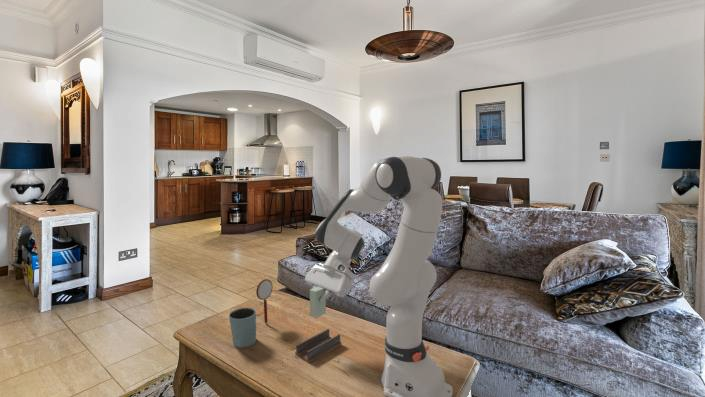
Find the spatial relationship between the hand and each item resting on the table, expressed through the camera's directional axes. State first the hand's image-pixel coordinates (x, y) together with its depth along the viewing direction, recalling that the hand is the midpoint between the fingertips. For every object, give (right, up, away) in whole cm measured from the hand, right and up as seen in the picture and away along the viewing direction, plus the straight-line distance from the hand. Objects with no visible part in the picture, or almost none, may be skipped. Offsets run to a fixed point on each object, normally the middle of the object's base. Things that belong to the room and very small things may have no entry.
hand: (316, 300), depth 128 cm
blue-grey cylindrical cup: (-29, -19, +9) cm, 36 cm away
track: (+1, -20, +3) cm, 20 cm away
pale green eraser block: (+1, -6, +1) cm, 6 cm away
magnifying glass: (-24, -17, +23) cm, 38 cm away
